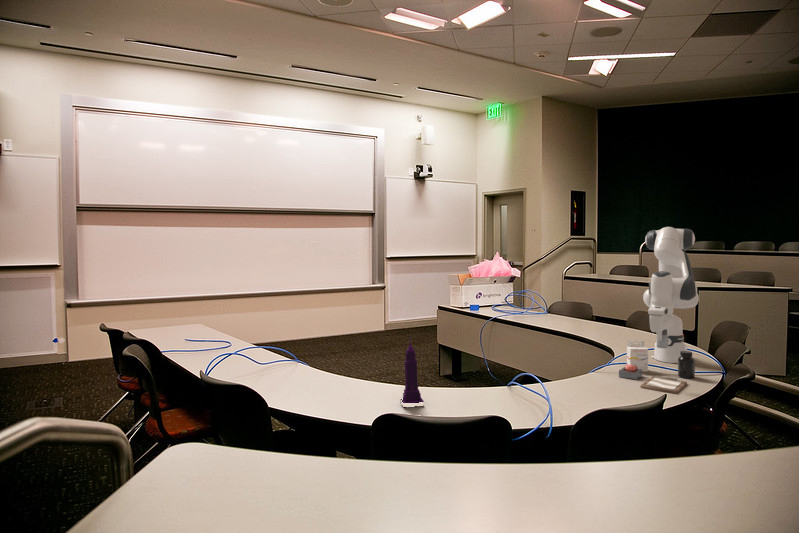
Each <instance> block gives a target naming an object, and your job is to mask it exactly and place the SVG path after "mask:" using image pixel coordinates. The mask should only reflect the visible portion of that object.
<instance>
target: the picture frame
mask: <svg viewBox="0 0 799 533" xmlns="http://www.w3.org/2000/svg"><path fill="white" fill-rule="evenodd" d="M686 385H688V382H687V381H685V380H678V378H677V377H671V376H666V375H665V376H664V375H662V376H661V377H659V376H652V377H650V378H649V379H648V380H646V381H645V382H644V383H642V384H641V385H640V388H641V389H646V390H651V391H658V392H662V393H663V392H664V393H667V394H674V395H677V394H678V393H679V392H680V391H681V390H682V389H683V388H685V387H686Z"/></svg>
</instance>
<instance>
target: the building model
mask: <svg viewBox="0 0 799 533" xmlns="http://www.w3.org/2000/svg"><path fill="white" fill-rule="evenodd" d="M416 355H417V354H416V352H415V349H414V348H413V346H412V343H411V337H409V346H408V347H407V348H406V352H405V359H404V375H405V376H404V377H405V384H404V389H403V393H402V398H403V400H402V399H400V401H401V400H402V402H403V403H419V402H424V403H425V401H424V399H423V398H422V396H421V395H422V394H421V392H420V389H419V384H418V383H419V382H418V361H417V358H416Z"/></svg>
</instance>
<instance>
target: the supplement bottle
mask: <svg viewBox="0 0 799 533" xmlns="http://www.w3.org/2000/svg"><path fill="white" fill-rule="evenodd" d="M680 355H681V356H680V357H679V358H678V363H677V375H678V378H681V379H687V380H688V379H689V380H691V379H695V377H696V365H695V364H696V360H695V358H694V357H693V351H691V350H690V351H689V350H687V351H680Z"/></svg>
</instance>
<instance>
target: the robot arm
mask: <svg viewBox="0 0 799 533" xmlns="http://www.w3.org/2000/svg"><path fill="white" fill-rule="evenodd" d="M644 239H645V240H644V242H645V245H646V248H647V249H649V250H651V251H653V253H654V257H655V258H656V259H657V260H658V271H655V272H652V275H651V280H650V282H649V283H648V289H646V290H645V291H644V293H643V296H642V297H643V298H642V299H643V302H644V304H645V305H646V307H648V310H647V312H648V313H647V314H648V315H649V329H650V331H651V332H652V333H656V341H655V343H654V351H653V352H654V354H652V355H651V356H650V357H651V358H652V359H653V360H654V359H655V360H656V361H659V362H663V363H670V364H678V358H679V357H680V356H681V355H680V351H688V349H687V348H688V347H687V345H686V343H685V342H684V341H685V340H684V339H685V334H684V333H683V320H682V318H681V317H679V316H677V315H676V314H673V313H674V309H683V310H684V309H690V308H692V309H693V308H695V307H696V306H697V305H698V304H699V300H700V298H699V297H700V296H699V294H698V286H697V283H696V281H695V278H694V272H693V269H692V265H691V260H690V258H689V254H688V252H686V251H688V250H690V249H691V248H693V247H694V245H695V241H696V237H695V234H694V232H693V230H692V229H689V228H675V227H672V226H665V227H662V228H661V229H658V230H656V229H652V230H649V231H647V233H646V234H645V238H644ZM665 329H667V348H658V347H657V340H660V341H661V340H663V336H662V331H663V330H665Z"/></svg>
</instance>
